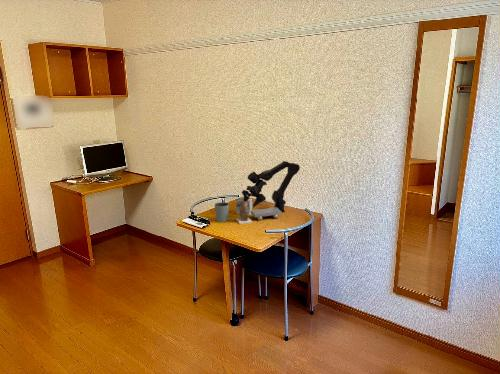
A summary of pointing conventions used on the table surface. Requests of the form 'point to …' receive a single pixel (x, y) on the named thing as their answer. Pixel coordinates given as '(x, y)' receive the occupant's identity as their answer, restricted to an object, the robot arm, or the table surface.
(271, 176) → the robot arm
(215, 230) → the table surface
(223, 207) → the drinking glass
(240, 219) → the pad
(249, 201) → the light bulb box
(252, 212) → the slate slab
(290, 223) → the table surface
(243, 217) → the walnut roller
